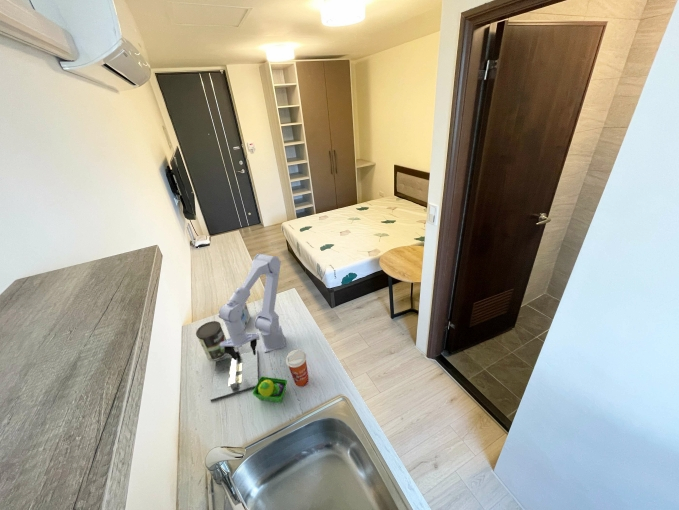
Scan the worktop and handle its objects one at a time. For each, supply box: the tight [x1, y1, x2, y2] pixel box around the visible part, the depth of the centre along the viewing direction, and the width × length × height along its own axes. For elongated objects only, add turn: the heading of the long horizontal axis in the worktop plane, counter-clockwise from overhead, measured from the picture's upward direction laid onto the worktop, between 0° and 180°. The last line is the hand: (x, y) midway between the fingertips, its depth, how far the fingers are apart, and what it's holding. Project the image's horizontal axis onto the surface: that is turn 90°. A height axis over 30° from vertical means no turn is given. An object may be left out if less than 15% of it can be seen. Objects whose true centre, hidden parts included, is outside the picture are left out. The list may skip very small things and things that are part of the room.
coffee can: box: [195, 320, 228, 361], centre depth 124 cm, size 10×10×14 cm
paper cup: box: [285, 348, 309, 388], centre depth 106 cm, size 8×8×14 cm
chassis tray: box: [209, 348, 259, 402], centre depth 114 cm, size 18×19×5 cm
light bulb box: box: [240, 302, 251, 330], centre depth 140 cm, size 11×7×11 cm, turn 179°
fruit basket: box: [252, 376, 288, 404], centre depth 102 cm, size 11×9×11 cm
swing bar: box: [230, 354, 239, 389], centre depth 113 cm, size 2×16×3 cm, turn 16°
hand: (245, 355), depth 112 cm, fingers open, 7 cm apart
